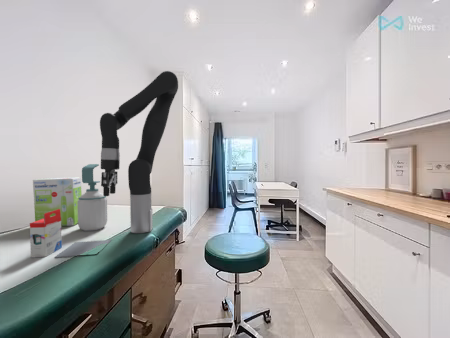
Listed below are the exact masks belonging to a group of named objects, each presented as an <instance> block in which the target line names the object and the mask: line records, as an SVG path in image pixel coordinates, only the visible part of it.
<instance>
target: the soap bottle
mask: <svg viewBox="0 0 450 338" xmlns="http://www.w3.org/2000/svg"><path fill="white" fill-rule="evenodd" d="M98 166H100V165H99V163H89V164H87V165H84V166H83V167H82V169H81V183H83V184H87V185H88V186H89V188H87V189H86V190H85V191H86V192H84V193H83V194H82V195H81V197H79V198H78V199H79V200H78V202H77V205H78V223H77V225H78V228H79V229H80V230H82V231H84V232H90V231H91V232H92V231H98V230H100V229H101V230H102V229H103V228H104V227H105V226H106V225H107V223H108V199H107V196H103V192H100V191H99V188H96V186H97V183H101V180H100V181H99V180H98V181H96V180H95V181H94V170H95V168H97V167H98Z"/></svg>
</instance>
